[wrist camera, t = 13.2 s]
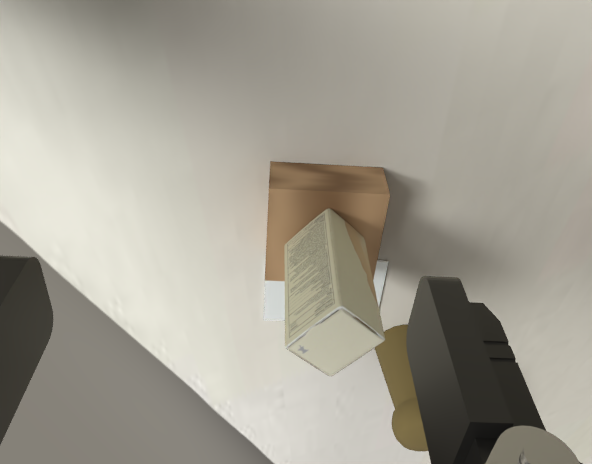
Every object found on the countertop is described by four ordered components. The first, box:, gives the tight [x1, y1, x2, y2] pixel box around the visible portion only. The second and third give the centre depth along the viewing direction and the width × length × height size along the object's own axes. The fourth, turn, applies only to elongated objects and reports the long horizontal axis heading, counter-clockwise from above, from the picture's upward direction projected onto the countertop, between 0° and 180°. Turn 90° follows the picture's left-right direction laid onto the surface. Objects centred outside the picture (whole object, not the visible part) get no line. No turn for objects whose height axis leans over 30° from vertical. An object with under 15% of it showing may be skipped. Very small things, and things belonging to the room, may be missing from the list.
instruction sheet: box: [263, 260, 388, 321], centre depth 52 cm, size 11×8×1 cm
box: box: [284, 208, 385, 376], centre depth 39 cm, size 5×4×11 cm
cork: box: [375, 325, 428, 451], centre depth 53 cm, size 6×6×11 cm
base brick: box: [265, 162, 390, 281], centre depth 45 cm, size 9×9×4 cm
